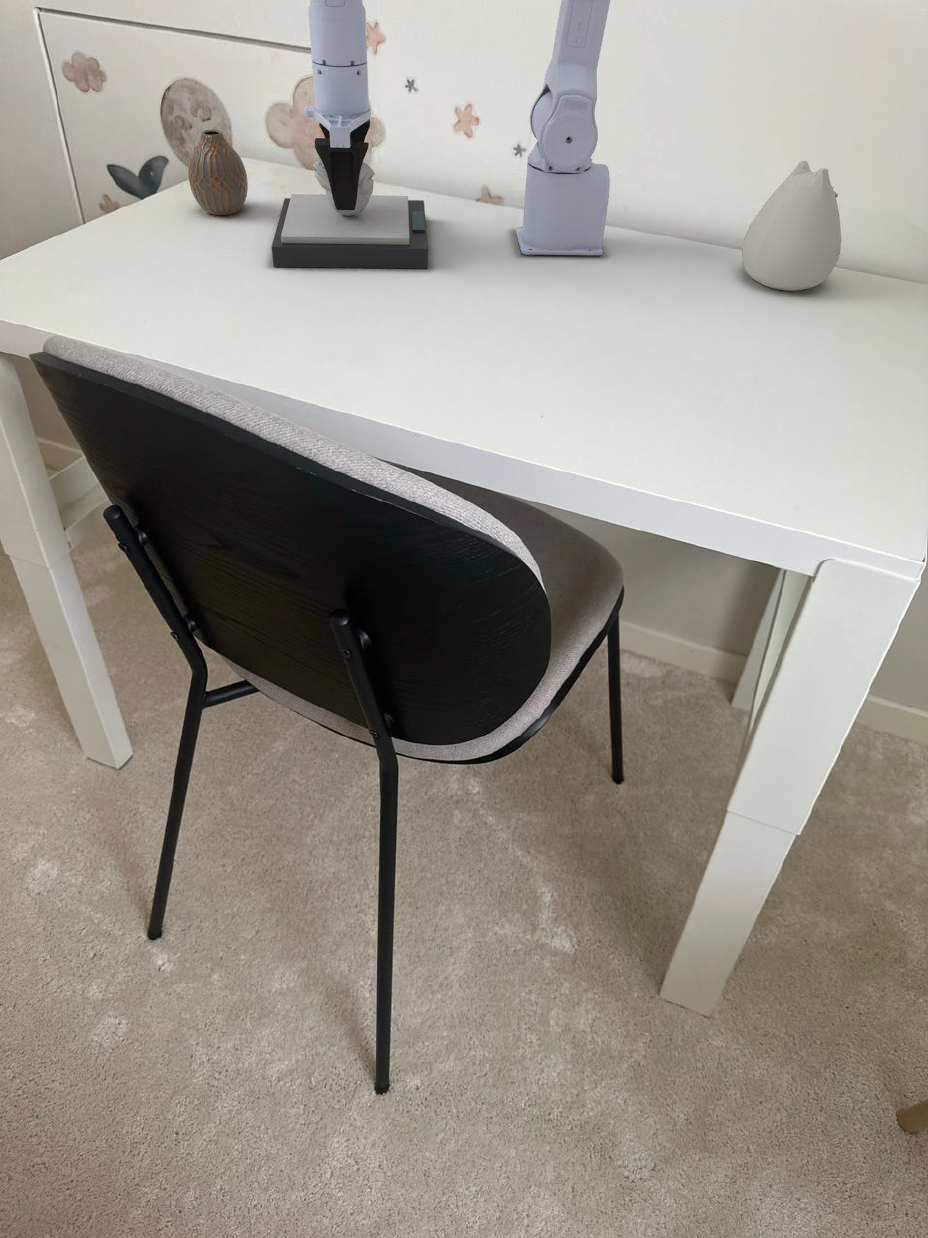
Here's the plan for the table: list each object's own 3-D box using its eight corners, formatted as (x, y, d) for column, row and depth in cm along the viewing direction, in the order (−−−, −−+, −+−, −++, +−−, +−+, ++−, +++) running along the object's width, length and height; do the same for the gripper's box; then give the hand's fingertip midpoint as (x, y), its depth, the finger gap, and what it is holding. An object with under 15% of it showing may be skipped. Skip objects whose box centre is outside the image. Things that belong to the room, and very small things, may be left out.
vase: (183, 215, 109) (170, 136, 103) (211, 197, 114) (199, 121, 108) (234, 222, 108) (223, 143, 102) (260, 204, 113) (251, 128, 107)
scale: (424, 218, 111) (424, 193, 109) (427, 268, 99) (427, 241, 97) (286, 216, 110) (283, 190, 108) (273, 267, 98) (270, 239, 96)
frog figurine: (309, 209, 103) (304, 143, 99) (367, 202, 106) (364, 138, 101) (325, 226, 99) (320, 159, 95) (384, 219, 102) (382, 153, 97)
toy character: (850, 287, 99) (888, 171, 91) (783, 305, 95) (817, 185, 87) (781, 255, 106) (811, 145, 98) (716, 271, 101) (742, 157, 93)
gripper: (305, 45, 97) (315, 178, 106) (295, 75, 86) (306, 220, 96) (370, 46, 98) (374, 179, 107) (367, 77, 87) (372, 221, 96)
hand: (346, 199), depth 101 cm, fingers closed on frog figurine, 6 cm apart
